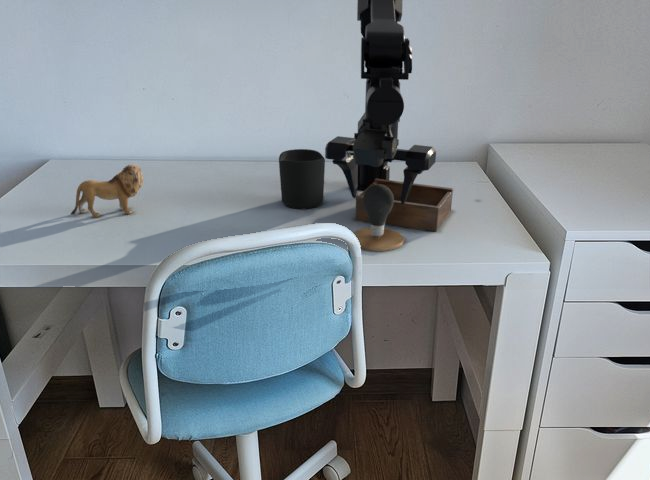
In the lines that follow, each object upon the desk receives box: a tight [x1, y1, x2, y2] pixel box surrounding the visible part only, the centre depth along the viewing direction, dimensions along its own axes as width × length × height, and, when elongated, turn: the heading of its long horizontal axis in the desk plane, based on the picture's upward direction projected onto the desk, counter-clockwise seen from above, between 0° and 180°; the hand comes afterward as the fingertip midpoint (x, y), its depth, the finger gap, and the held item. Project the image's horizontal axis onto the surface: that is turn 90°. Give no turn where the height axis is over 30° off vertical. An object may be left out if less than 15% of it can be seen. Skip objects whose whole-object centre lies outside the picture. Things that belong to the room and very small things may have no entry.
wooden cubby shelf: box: [355, 179, 454, 232], centre depth 141 cm, size 17×13×5 cm
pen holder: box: [278, 148, 326, 210], centre depth 145 cm, size 9×9×10 cm
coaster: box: [352, 227, 405, 252], centre depth 130 cm, size 10×10×1 cm
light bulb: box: [363, 184, 394, 238], centre depth 127 cm, size 6×6×10 cm
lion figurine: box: [70, 164, 144, 218], centre depth 137 cm, size 15×5×9 cm, turn 116°
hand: (378, 200), depth 126 cm, fingers open, 9 cm apart
